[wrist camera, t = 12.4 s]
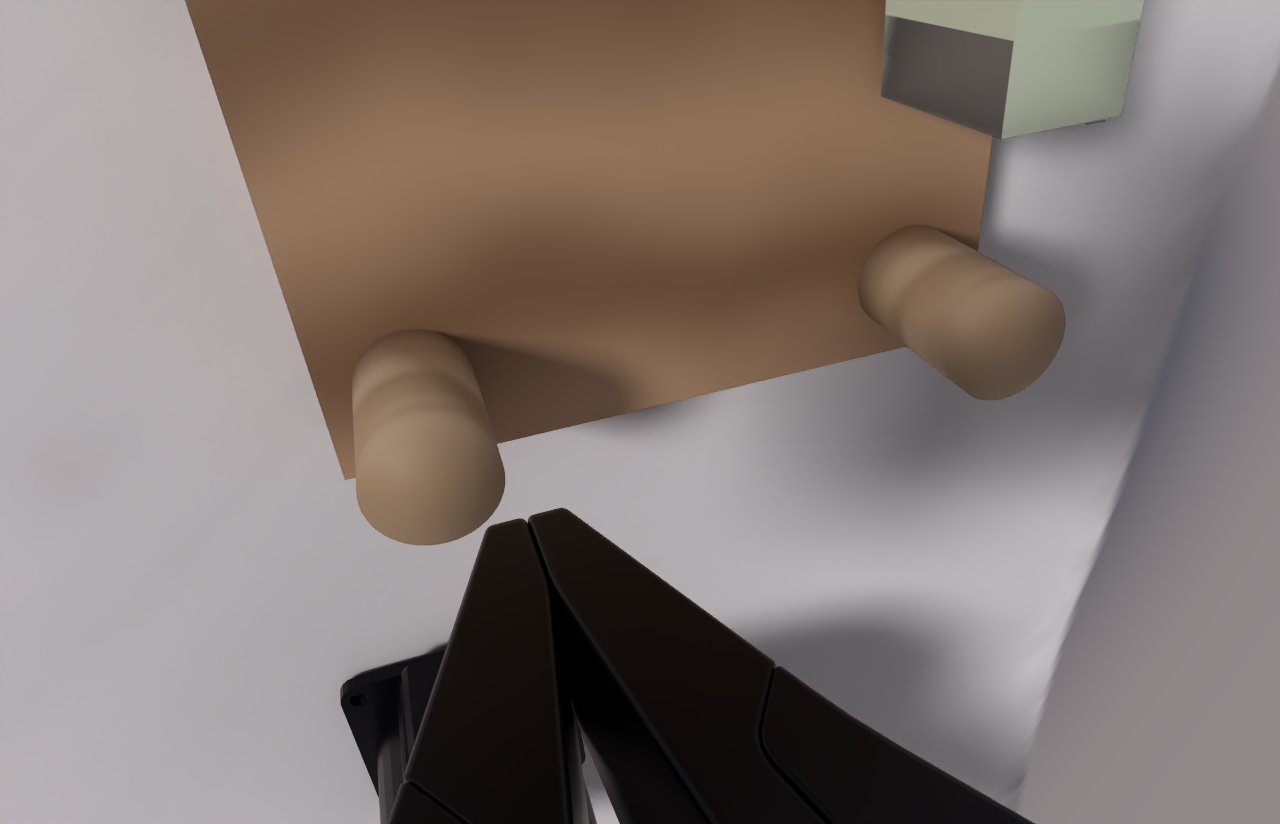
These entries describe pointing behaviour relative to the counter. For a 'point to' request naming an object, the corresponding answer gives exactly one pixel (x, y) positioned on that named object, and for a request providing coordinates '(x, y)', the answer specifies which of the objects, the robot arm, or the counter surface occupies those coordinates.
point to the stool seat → (595, 219)
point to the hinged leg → (1010, 61)
